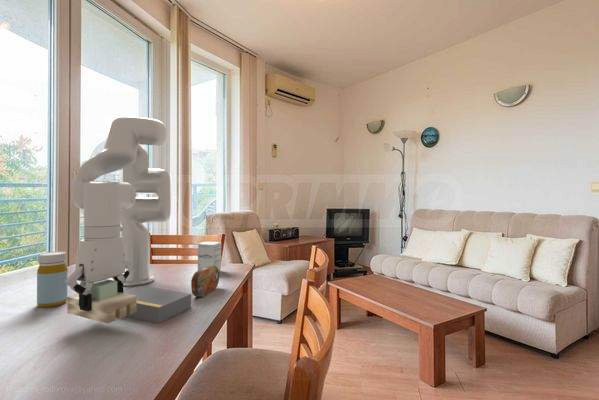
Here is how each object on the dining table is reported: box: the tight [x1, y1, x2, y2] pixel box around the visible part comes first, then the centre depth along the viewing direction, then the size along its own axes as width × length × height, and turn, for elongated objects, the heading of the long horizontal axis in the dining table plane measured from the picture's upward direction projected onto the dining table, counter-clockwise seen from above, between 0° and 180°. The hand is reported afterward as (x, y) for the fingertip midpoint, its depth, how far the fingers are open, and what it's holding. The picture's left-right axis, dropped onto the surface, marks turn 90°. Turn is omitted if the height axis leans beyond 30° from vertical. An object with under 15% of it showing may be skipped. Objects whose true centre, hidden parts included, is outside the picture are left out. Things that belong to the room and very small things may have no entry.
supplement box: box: [197, 241, 222, 272], centre depth 132 cm, size 7×7×13 cm
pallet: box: [66, 292, 137, 324], centre depth 76 cm, size 14×8×4 cm, turn 69°
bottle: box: [36, 251, 68, 309], centre depth 91 cm, size 7×7×15 cm
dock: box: [123, 285, 192, 324], centre depth 88 cm, size 20×12×4 cm, turn 69°
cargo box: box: [89, 279, 117, 301], centre depth 76 cm, size 5×4×3 cm
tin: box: [190, 266, 220, 298], centre depth 104 cm, size 15×3×8 cm, turn 168°
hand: (102, 303), depth 76 cm, fingers closed on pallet, 7 cm apart
